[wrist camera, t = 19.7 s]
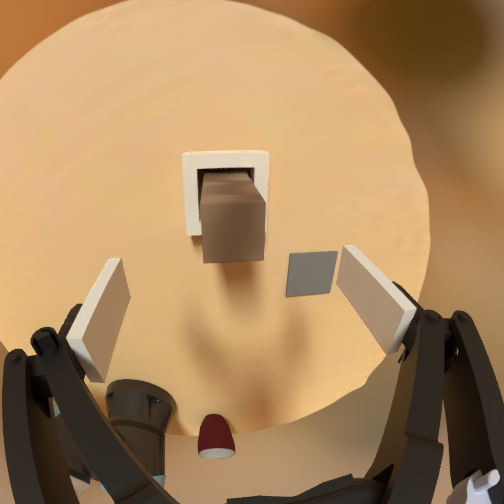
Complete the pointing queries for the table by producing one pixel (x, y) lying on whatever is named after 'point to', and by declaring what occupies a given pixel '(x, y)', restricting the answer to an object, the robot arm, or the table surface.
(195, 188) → the socket block
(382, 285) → the robot arm
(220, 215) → the peg
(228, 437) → the mug
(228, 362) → the table surface
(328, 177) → the table surface
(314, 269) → the mat
